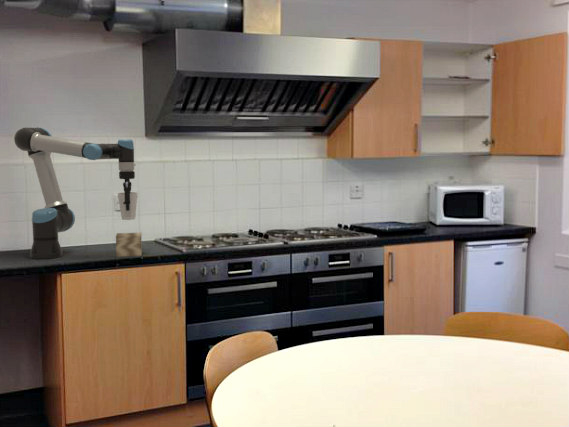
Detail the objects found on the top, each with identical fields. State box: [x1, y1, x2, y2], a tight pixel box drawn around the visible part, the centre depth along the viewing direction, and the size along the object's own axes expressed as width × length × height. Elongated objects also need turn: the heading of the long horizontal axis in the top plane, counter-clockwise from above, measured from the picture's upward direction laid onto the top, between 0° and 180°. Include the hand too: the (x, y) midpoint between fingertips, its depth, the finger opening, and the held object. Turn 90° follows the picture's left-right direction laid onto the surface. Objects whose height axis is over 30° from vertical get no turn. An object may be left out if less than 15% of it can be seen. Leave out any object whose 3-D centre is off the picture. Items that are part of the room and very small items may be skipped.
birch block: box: [115, 232, 143, 258], centre depth 363 cm, size 12×12×10 cm
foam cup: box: [117, 191, 139, 221], centre depth 361 cm, size 10×9×13 cm
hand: (128, 216), depth 362 cm, fingers closed on foam cup, 9 cm apart
